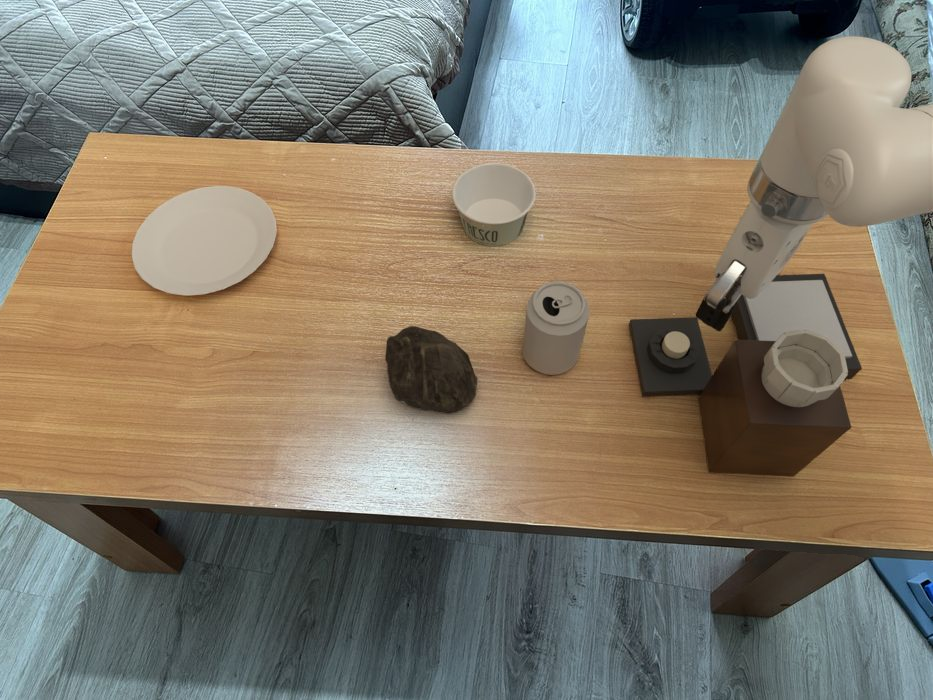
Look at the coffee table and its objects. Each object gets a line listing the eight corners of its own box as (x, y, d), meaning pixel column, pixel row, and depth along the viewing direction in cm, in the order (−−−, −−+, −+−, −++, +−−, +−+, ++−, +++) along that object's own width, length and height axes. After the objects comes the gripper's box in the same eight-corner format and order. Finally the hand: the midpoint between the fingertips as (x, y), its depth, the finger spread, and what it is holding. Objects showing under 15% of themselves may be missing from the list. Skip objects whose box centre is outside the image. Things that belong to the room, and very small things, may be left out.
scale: (851, 378, 84) (864, 366, 81) (750, 382, 84) (760, 369, 81) (815, 285, 91) (826, 270, 88) (723, 288, 91) (731, 274, 88)
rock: (476, 425, 80) (464, 378, 72) (388, 423, 82) (367, 377, 74) (484, 360, 86) (474, 310, 78) (402, 359, 88) (384, 310, 80)
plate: (177, 329, 89) (171, 320, 87) (115, 240, 98) (108, 230, 96) (306, 254, 96) (303, 244, 94) (237, 176, 105) (233, 166, 103)
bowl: (838, 379, 68) (860, 357, 64) (804, 425, 65) (824, 405, 61) (778, 340, 70) (795, 317, 66) (742, 384, 68) (758, 362, 64)
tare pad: (712, 394, 83) (720, 383, 80) (642, 397, 83) (647, 385, 80) (694, 322, 88) (700, 310, 86) (628, 324, 88) (632, 312, 86)
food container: (539, 201, 101) (543, 169, 95) (523, 260, 95) (526, 229, 89) (464, 188, 102) (463, 156, 97) (444, 245, 96) (442, 214, 91)
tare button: (689, 358, 82) (692, 352, 81) (664, 359, 82) (667, 353, 81) (684, 337, 84) (687, 330, 83) (659, 338, 84) (662, 331, 83)
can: (513, 338, 88) (518, 284, 77) (565, 323, 89) (576, 268, 78) (533, 384, 84) (540, 334, 74) (587, 369, 85) (601, 317, 75)
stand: (778, 401, 82) (828, 342, 70) (794, 476, 77) (851, 427, 65) (697, 397, 83) (734, 339, 71) (708, 472, 77) (750, 423, 65)
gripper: (785, 260, 53) (719, 365, 68) (880, 152, 60) (801, 268, 74) (706, 215, 56) (659, 324, 71) (805, 115, 62) (743, 235, 77)
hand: (732, 295), depth 72 cm, fingers open, 9 cm apart
